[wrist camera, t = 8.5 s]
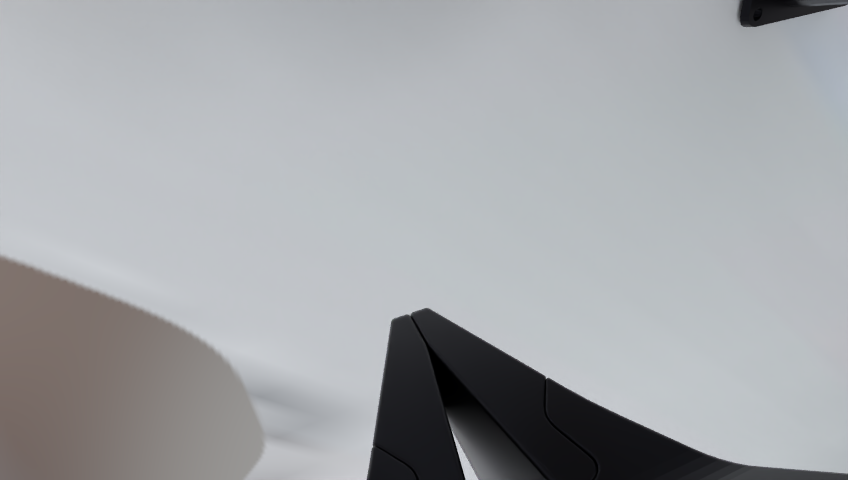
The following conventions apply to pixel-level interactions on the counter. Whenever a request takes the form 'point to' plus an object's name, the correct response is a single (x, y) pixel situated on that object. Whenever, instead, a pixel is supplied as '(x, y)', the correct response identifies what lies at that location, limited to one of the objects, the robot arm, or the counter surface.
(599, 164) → the counter surface
